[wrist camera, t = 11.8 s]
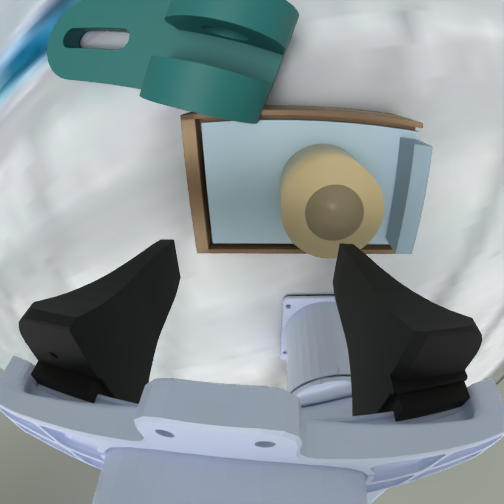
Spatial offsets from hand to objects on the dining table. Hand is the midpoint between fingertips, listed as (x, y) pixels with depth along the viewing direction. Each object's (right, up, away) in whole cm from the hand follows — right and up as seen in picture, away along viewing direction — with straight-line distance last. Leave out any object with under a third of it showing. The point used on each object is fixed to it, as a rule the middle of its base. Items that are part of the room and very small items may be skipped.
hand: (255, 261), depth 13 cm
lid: (+4, +5, +5) cm, 7 cm away
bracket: (-7, +15, +3) cm, 17 cm away
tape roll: (+4, +4, +4) cm, 7 cm away
